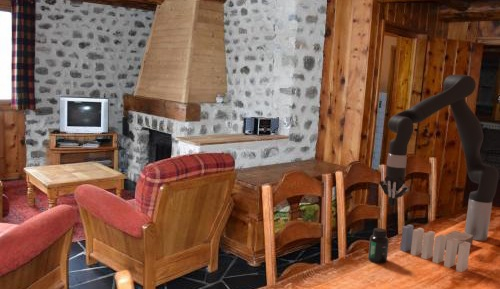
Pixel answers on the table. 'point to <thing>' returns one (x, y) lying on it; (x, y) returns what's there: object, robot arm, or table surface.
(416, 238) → the tile
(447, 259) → the tile
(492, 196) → the robot arm
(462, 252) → the tile
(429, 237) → the tile
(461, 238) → the brick
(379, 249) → the supplement bottle
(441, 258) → the tile
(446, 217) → the table surface
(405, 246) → the tile
